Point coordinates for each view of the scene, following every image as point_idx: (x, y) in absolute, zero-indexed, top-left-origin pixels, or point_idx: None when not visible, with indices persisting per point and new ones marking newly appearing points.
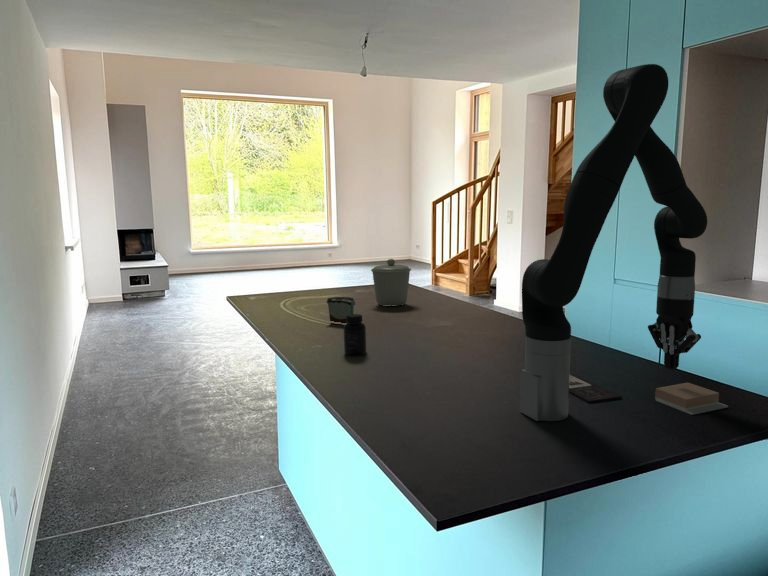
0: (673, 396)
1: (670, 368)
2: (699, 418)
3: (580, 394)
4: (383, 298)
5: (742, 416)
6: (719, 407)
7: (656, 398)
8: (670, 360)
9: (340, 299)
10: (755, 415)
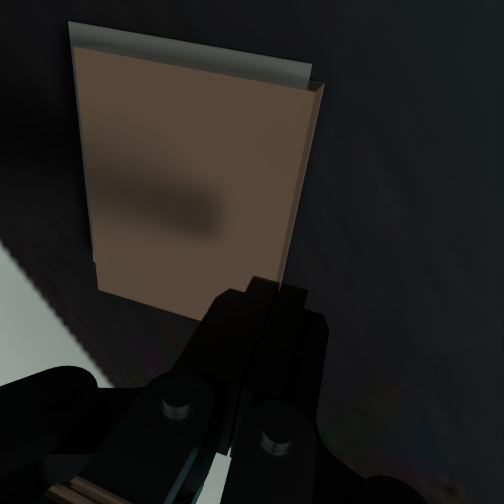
0: (167, 62)
1: (252, 281)
2: (30, 11)
3: None
4: None
5: (15, 202)
6: (90, 218)
7: (313, 81)
8: (230, 327)
9: None
10: (15, 246)
